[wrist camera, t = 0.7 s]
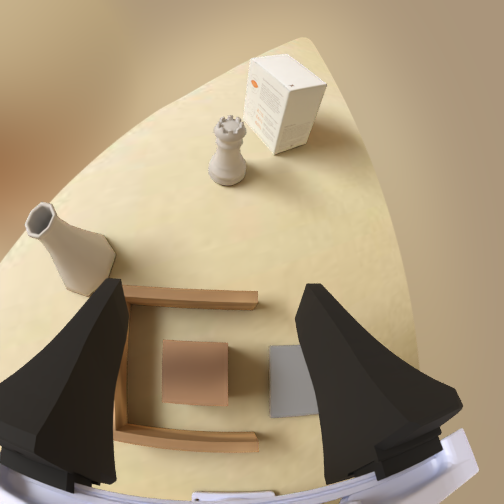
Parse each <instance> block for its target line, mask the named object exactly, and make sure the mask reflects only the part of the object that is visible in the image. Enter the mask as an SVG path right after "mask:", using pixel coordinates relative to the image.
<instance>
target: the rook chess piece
mask: <svg viewBox="0 0 504 504" xmlns="http://www.w3.org/2000/svg"><path fill="white" fill-rule="evenodd" d="M214 134H215V136H216V144H217V150H216V153H215V154H214V155H213V156H212V158H211V160H210V161H209V167H208V173H209V176H210V178H211V179H212V180H213V181H215V182H216V183H219V184H222V185H233V184H236V183H239V182H240V181H241V180H242V179H243V178H244V176H245V174H246V162H245V160H244V158H243V157H242V155H241V153H240V146H241V145H242V143H243V139H242V138H243V137H244V136H245V134H246V128H245V126H244V125H243V122H241V119H240V118H239V117H237V118H236V120H235V119H233V116H231V115H228V119H225V118H224V117H222V118H220V122H218V123H217V124H216V126H215V127H214Z"/></svg>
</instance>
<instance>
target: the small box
mask: <svg viewBox="0 0 504 504" xmlns="http://www.w3.org/2000/svg"><path fill="white" fill-rule="evenodd" d="M326 87H327V84H326V83H325V82H324V81H323V80H321V79H320V78H319V77H318V76H316V75H315V74H314V73H313V72H311V71H310V70H309V69H307V68H306V67H305V66H303V65H302V64H301V63H299V62H298V61H297V60H295V59H294V58H292V57H291V56H290V55H288V54H279V55H271V56H263V57H257V58H251V59H250V64H249V72H248V80H247V89H246V97H245V106H244V114H243V120H244V121H245V122H246V123H247V124H248V126H249V127H250V128H251V129H252V130H253V131H254V132H255V134H256V135H257V136H258V137H259V138H260V139H261V141H262V142H263V143H264V144H265V145H266V146H267V147H268V149H269V150H270V151H271V152H272V154H273V155H275V154H278V153H280V152H283V151H286V150H289V149H292V148H294V147H297V146H300V145H303V144H306V143H307V140H308V137H309V134H310V132H311V129H312V126H313V123H314V121H315V118H316V115H317V112H318V109H319V107H320V104H321V101H322V98H323V95H324V92H325V90H326Z"/></svg>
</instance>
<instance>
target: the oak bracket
mask: <svg viewBox="0 0 504 504" xmlns="http://www.w3.org/2000/svg"><path fill="white" fill-rule="evenodd" d="M122 287H123V291H124V296H125V300H126V304H127V308H128V312H129V320H130V308H131V304H135V305H148V306H162V307H179V308H198V309H225V310H253V309H254V308H255V306H256V305H257V303H258V291H229V290H202V289H180V288H162V287H145V286H130V285H122ZM128 335H129V323H128V331H127V338H126V343H125V347H124V351H123V356H122V360H121V364H120V369H119V374H118V378H117V383H116V389H115V397H114V413H113V440H114V441H119V442H124V443H129V444H135V445H141V446H148V447H155V448H163V449H172V450H182V451H196V452H224V453H237V452H259V441H258V439H257V437H256V435H255V433H254V432H206V431H188V430H176V429H166V428H157V427H149V426H142V425H136V424H130V423H128V419H127V355H128Z"/></svg>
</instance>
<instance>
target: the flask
mask: <svg viewBox="0 0 504 504" xmlns="http://www.w3.org/2000/svg"><path fill="white" fill-rule="evenodd" d="M25 227H26V230H27V233H28V235H29V236H30V237H32V238H35V239H38V240H39V241H41V242H42V243H43V245H44V246H45V248H46V249H47V250H48V252H49V253H50V255H51V257H52V259H53V262H54V264H55V267H56V269H57V271H58V273H59V275H60V277H61V279H62V281H63V283H64V285H65V287H66V288H67V289H68V290H70V291H73V292H76V293H79V294H82V295H84V296H87V297H88V296H89V295H90V294H91V293H92V292H94V291H95V290H96V289H97V288H98V287H99V286H100V285H101V284H102V283H103V281H104V280H105V279H106V278H108V277H109V274H110V271H111V268H112V265H113V262H114V259H115V256H116V254H115V252H114V250H113V249H112V247H111V246H110V244H109V243H108V241H107V240H106V238H105V236H104V235H101V234H97V233H94V232H90V231H86V230H83V229H80V228H77V227H74V226H71V225H69V224H68V223H66V222H65V221H63V220H62V219H60V218H59V217H58V216H57V213H56V211H55V209H54V207H53V205H52V204H50V203H45V202H41V203H40V204H39V205H37V206H36V207H35V208H34V209H33V210H32V211H31V212H30V214H29V216H28V219H27V221H26V223H25Z"/></svg>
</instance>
